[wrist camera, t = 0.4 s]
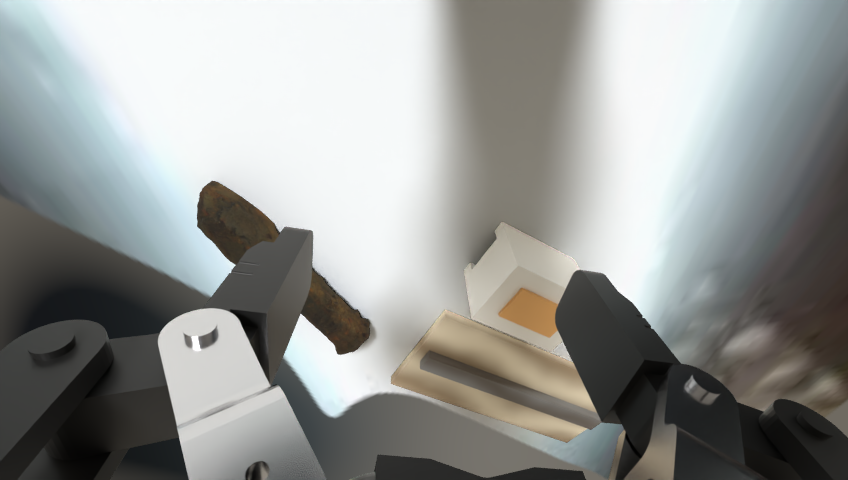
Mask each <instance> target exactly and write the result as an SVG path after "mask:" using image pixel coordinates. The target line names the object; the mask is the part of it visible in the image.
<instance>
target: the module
mask: <svg viewBox="0 0 848 480" xmlns="http://www.w3.org/2000/svg"><path fill="white" fill-rule="evenodd" d="M495 234H496V237H497V239H496V240H495V241H494V243H493V244H492V245H491V246H490V248H489V249H488V250H487V251H486V253H485V254H484V255H483V256H482V258H481V259H480V260H479V261H478V263H477V264H476V265H475V264H473V263H471V262H470V263H469V264H468V266H467V267H466V268H465V270H464V275H465V282H466V288H467V294H468V301H469V307H470V314H471V319H473V320H475V321H478V322H480V323H483V324H485V325H487V326H490V327H492V328H494V329H497V330H499V331H502V332H504V333H506V334H509V335H511V336H514V337H516V338H518V339H521V340H523V341H526V342H528V343H530V344H533V345H535V346H538V347H540V348H542V349H545V350H547V351H550V352H551V351H552V350H553V349H555V348H556V347H557V346H558V345H559V344H560V343H561V342H562V341H563V340H562V338H561V336H560V334H559V332H558V330H557V327H556V324H555V313H556V309H557V306H558V304H559V302H560V300H561V298H562V296H563V293H564V291H565V289H566V287H567V285H568V283H569V281H570V278H571V276H572V275H573V273H574V272H575V271H577V270H580V268H579V267H578V265H577V263H576V261H575V260H574V258H572V257H570V256H568V255H566V254H564V253H562V252H560V251H558V250H556V249H554V248H552V247H550V246H548V245H547V244H545V243H543V242H541V241H539V240H537V239H535V238H533V237H531V236H529V235H527V234H525V233H523V232H521V231H519V230H518V229H516V228H514V227H512V226H510V225H508V224H506V223H504V222H501V223H500V225H499V226H498V227H497V229H496V230H495Z"/></svg>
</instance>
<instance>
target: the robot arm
mask: <svg viewBox="0 0 848 480" xmlns="http://www.w3.org/2000/svg"><path fill="white" fill-rule="evenodd" d="M312 256H313V232H312V231H311V230H305V229H298V228H291V227H284V228H283V230H282V231H281V233H280V234H279V236H278V237H277V239H276V240H275V242H266V241H262V242H260V243H258V244H257V245H255V246H253V247H251V248H250V249H248V250H247V251H246V252H245V254H244V255H243V256H242V258H241V259H240V260H239V263H238V264H236V266H235V267H234V268H233V269H232V271H231V273H229V275H228V276H227V277H226V279H225V280H224V281H223V283H222V284H221V285H220V286H219V288H218V289H217V290H216V292H215V293H214V294H213V296H212V297H211V298H210V300H209V301H208V302H207V304H206V305H205V306H204V307H203V309H199V310H195V311H191V312H188V313H185V314H183V315H181V316H179V317H177V318H175V319H174V320H172V321H171V322H170V323H168V324H167V325H166V326H165V327H164V328H163V330H162V331H161V333H158V334H152V335H144V336H135V337H126V338H118V339H108V336H107V333H106V330H105V329H104V327H102V326H101V325H100V324H98V323H96V322H92V321H88V320H67V321H62V322H57V323H52V324H49V325H46V326H43V327H39V328H37V329H35V330H32V331H30V332H28V333H26V334H24V335H22V336H20V337H19V338H17V339H15V340H14V341H13V342H11V343H10V344H8V345H7V346H6V347H5V348H4V349H2V350H1V351H0V480H110V478H111V477H112V475H113V473H114V472H115V470H116V469H117V467H118V465H119V464H120V462H121V460H122V459H123V457H124V456H125V454H126V452H127V451H128V449H129V448H131V447H136V446H141V445H146V444H150V443H155V442H160V441H164V440H169V439H174V438H180V443H181V447H182V451H183V456H184V460H185V464H186V469H187V473H188V477H189V480H327V479H326V477H325V475H324V473H323V471H322V469H321V467H320V465H319V463H318V461H317V458H316V457H315V455H314V452H313V451H312V448H311V446H310V445H309V442H308V440H307V438H306V436H305V435H304V432H303V430H302V428H301V426H300V424H299V422H298V420H297V418H296V416H295V414H294V412H293V410H292V408H291V406H290V405H289V402H288V400H287V398H286V396H285V394H284V392H283V391H282V389H281V388H280V387H279V386H278V385H273V386H271V385H272V383H273V380H274V378H275V375H276V373H277V370H278V368H279V365H280V363H281V360H282V358H283V355H284V353H285V351H286V348H287V346H288V343H289V341H290V338H291V336H292V333H293V331H294V328H295V326H296V323H297V321H298V318H299V316H300V313H301V311H302V309H303V306H304V304H305V301H306V299H307V296H308V293H309V290H310V285H311V278H312ZM555 324H556V327H557V330H558V332H559V334H560V336H561V338H562V340H563V342H564V344H565V346H566V349H567V351H568V353H569V355H570V357H571V359H572V361H573V363H574V365H575V367H576V370H577V372H578V374H579V376H580V378H581V380H582V382H583V384H584V386H585V388H586V390H587V393H588V395H589V397H590V399H591V401H592V403H593V405H594V407H595V409H596V411H597V414H598V416H599V418H600V420H601V422H603V423H614V424H622V426H623V428H624V431H623V432H622V433H621V435H620V436H619V438H618V442H617V446H616V450H615V454H614V459H613V463H612V467H611V471H610V475H609V479H608V480H848V438H847V437H846V436H845V435H844V434H843V433H842V432H841V431H840V430H839V429H838V428H837V427H836V426H835V425H833V424H832V423H831V422H830V421H828V420H827V419H826V418H824V417H823V416H821V415H820V414H818V413H817V412H815V411H813V410H811V409H810V408H808V407H806V406H804V405H802V404H799V403H797V402H794V401H791V400H786V399H778V400H776V401H774V402H773V403H772V404H771V405H770V406H769V407H768V408H767V409H766V410H765V411H764V412H763V411H760V410H757V409H755V408H752V407H749V406H746V405H743V404H741V403H738V402H737V401H736V399H735V397H734V396H733V394H732V393H731V392H730V391H729V390H728V389H727V388H726V387H725V386H724V385H723V384H722V383H721V382H720V381H718V380H717V379H716V378H714V377H713V376H711V375H710V374H708V373H706V372H704V371H703V370H700V369H698V368H696V367H693V366H690V365H686V364H681V363H680V362H679V361H678V359H677V358H676V357H675V356H674V354H673V353H672V352H671V351H670V349H669V348H668V347H667V346H666V344H665V343H664V342H663V341H662V339H661V338H660V337H659V336H658V334H657V333H656V332H655V331H654V329H651V326H650V324H649V323H648V322H647V321H646V319H645V318H642V314H641V313H640V312H639V311H638V309H637V308H636V307H635V306H634V304H633V303H632V302H630V301H629V300H628V299H627V298H625V297H624V296H623V295H622V294H620V293H619V292H618V291H617V290H616V288H615V287H614V286H613V285H612V283H611V282H610V281H609V279H608V278H607V277H606V276H605V275H604V274H603V273H597V272H590V271H583V270H577V271H575V272H574V273H573V275H572V276H571V278H570V281H569V283H568V285H567V287H566V289H565V291H564V293H563V296H562V298H561V300H560V302H559V304H558V306H557V309H556V313H555ZM349 480H586V479H585V476H584V473H583V471H572V470H561V469H548V468H535V467H534V468H530V469H526V470H521V471H517V472H513V473H508V474H504V475H500V476H496V477H491V478H483V477H480V476H477V475H474V474H471V473H468V472H466V471H463V470H460V469H457V468H454V467H452V466H449V465H446V464H443V463H440V462H437V461H435V460H432V459H424V458H412V457H400V456H387V455H378V456H377V461H376V465H375V470H374V472H373V473H368V474H363V475H360V476H358V477H355V478H352V479H349Z"/></svg>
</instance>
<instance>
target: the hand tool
mask: <svg viewBox="0 0 848 480" xmlns="http://www.w3.org/2000/svg"><path fill="white" fill-rule="evenodd" d="M197 208H198V212H197V220H198V223H197V227H198V228H199V229H201V230H202V232H203V233H204V234H205V235H206V237H207V238H209V239H210V240H211V241H212V242H213V243H214V244H215V245H216V246H217V247H218V249H219V250H220V251H221V252H222V253H223V255H224V256H225V257H226V258H227V259H228V260H230V261H231V262H232V263H234V264H235V265H236V264H238V263H239V260H240V259H241V258H242V256H243V255H244V254H245V252H246V251H247V250H248V249H250V248H251V247H253V246H255V245H257V244H258V243H260V242H262V241H266V242H275V240H276V239H277V237H278V236H279V234H278V232H277V231H276V228H275V224H274V223H273V222H272V221H271V220H270V219H269V218H268V217H267V216H266V215H265V214H263V213H262V212H261V211H260V210H259V209H257V208H256V207H255V206H253V205H252V204H251V203H249V202H248V201H246V200H245V199H244V198H242V197H241V196H239V195H238V194H236V193H234V192H233V191H232V190H230V189H228V188H226V187H225V186H223V185H221V184H220V183H218V182H216V181H211V182H210V183H208V184H207V185H206V186H205V187H204V188H202V191H201V192H200V198H199V202H198V205H197ZM301 314H302V315H303V316H304V317H305V318H306V319H307V320H308V321H309V322H310V323H312V324H313V325H314V326H315V327H316V328H317V329H318V330H319V331H321V332H322V333H323V334H324V335H325V336H326V337H327V338H328V339H329V340H330V341H331V342H332V343H333V344H334V345H335V348H336V352H337V354H340V355H342V354H346V353H349V352H354V351H356V350H357V349H358V348H359V347H360V346H361V345H362V344H363V343H364V342H365V341H366V340H367V339H368V338H369V335H370V328H369V320H368V319H366V318H361V317H360V314H359V311H358V309H357V310H353V309H351V308H350V307H349V306H348V305H347V304H346V303H345V302H344V301H343V299H342V298H341V297H339V296H338V295H337V294H336V293H335V292H334V291H332V289H331V288H330V287H329V286H328V285H327V284H326V283H325V282H324V279H323V278H322V276H319V275H317V274H316V273H315V272H314V270H313V269H312V278H311V285H310V290H309V293H308V296H307V299H306V301H305V304H304V306H303V309H302V311H301Z"/></svg>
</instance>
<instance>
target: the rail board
mask: <svg viewBox="0 0 848 480" xmlns="http://www.w3.org/2000/svg"><path fill="white" fill-rule="evenodd" d="M391 384H393V385H396V386H399V387H402V388H405V389H408V390H411V391H414V392H417V393H420V394H423V395H426V396H429V397H432V398H435V399H438V400H441V401H444V402H447V403H450V404H453V405H456V406H459V407H462V408H465V409H468V410H471V411H474V412H477V413H480V414H483V415H486V416H489V417H492V418H495V419H498V420H501V421H504V422H507V423H510V424H513V425H516V426H519V427H522V428H525V429H527V430H530V431H533V432H536V433H539V434H542V435H545V436H548V437H551V438H554V439H557V440H560V441H563V442H566V443H567V442H569V441H570V440H571V439H573V438H574V437H576V436H577V435H579V434H580V433H582V432H583V431H584V430H586V429H590V430H591V429H593V428H594V427H596V426H597V425H599V424H600V423H601V420H600V418H599V416H598V414H597V411H596V409H595V407H594V405H593V403H592V401H591V399H590V397H589V395H588V393H587V390H586V388H585V386H584V384H583V382H582V380H581V378H580V376H579V374H578V372H577V370H576V367H575V365H574V363H573V362H571V361H568V360H566V359H563V358H561V357H559V356H556V355H554V354H551V353H549V352H547V351H544V350H542V349H539V348H537V347H535V346H532V345H530V344H527V343H525V342H522V341H520V340H518V339H515V338H513V337H510V336H508V335H506V334H503V333H501V332H498V331H496V330H494V329H491V328H489V327H486V326H484V325H482V324H479V323H477V322H474V321H472V320H470V319H467V318H465V317H462V316H460V315H457V314H455V313H453V312H450V311H448V310H444V311H443V313H442V314H441V315H440V316H439V318H438V319H437V320H436V321H435V323H434V324H433V325H432V326H431V328H430V329H429V330H428V331H427V333H426V334H425V335H424V336H423V338H422V339H421V340H420V341H419V343H418V344H417V345H416V346H415V348H414V349H413V350H412V351H411V352H410V354H409V355H408V356H407V357H406V359H405V360H404V361H403V362H402V364H401V365H400V366H399V367H398V369H397V370H396V371H395V372H394V374H393V375H392V376H391Z"/></svg>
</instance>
